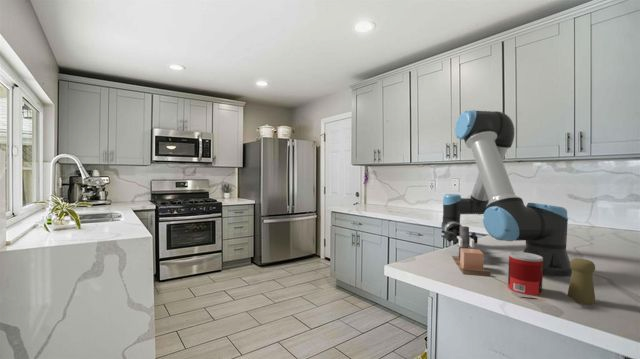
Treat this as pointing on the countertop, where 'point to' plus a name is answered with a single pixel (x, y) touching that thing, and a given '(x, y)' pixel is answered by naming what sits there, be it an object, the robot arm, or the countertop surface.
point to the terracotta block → (471, 259)
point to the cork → (582, 282)
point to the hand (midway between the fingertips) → (467, 243)
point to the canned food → (525, 273)
